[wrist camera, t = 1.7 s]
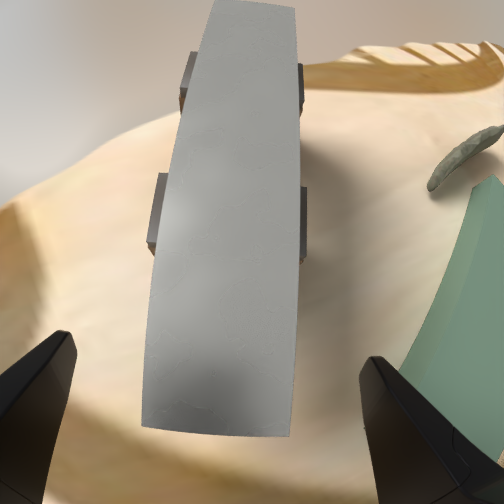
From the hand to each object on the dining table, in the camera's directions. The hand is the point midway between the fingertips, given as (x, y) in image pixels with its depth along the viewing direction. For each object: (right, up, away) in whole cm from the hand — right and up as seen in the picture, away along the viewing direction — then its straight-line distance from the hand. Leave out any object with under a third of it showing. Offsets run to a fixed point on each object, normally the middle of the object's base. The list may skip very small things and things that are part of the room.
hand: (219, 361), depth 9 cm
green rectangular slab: (+19, -3, +11) cm, 22 cm away
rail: (0, +6, +5) cm, 8 cm away
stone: (+19, +11, +15) cm, 27 cm away
